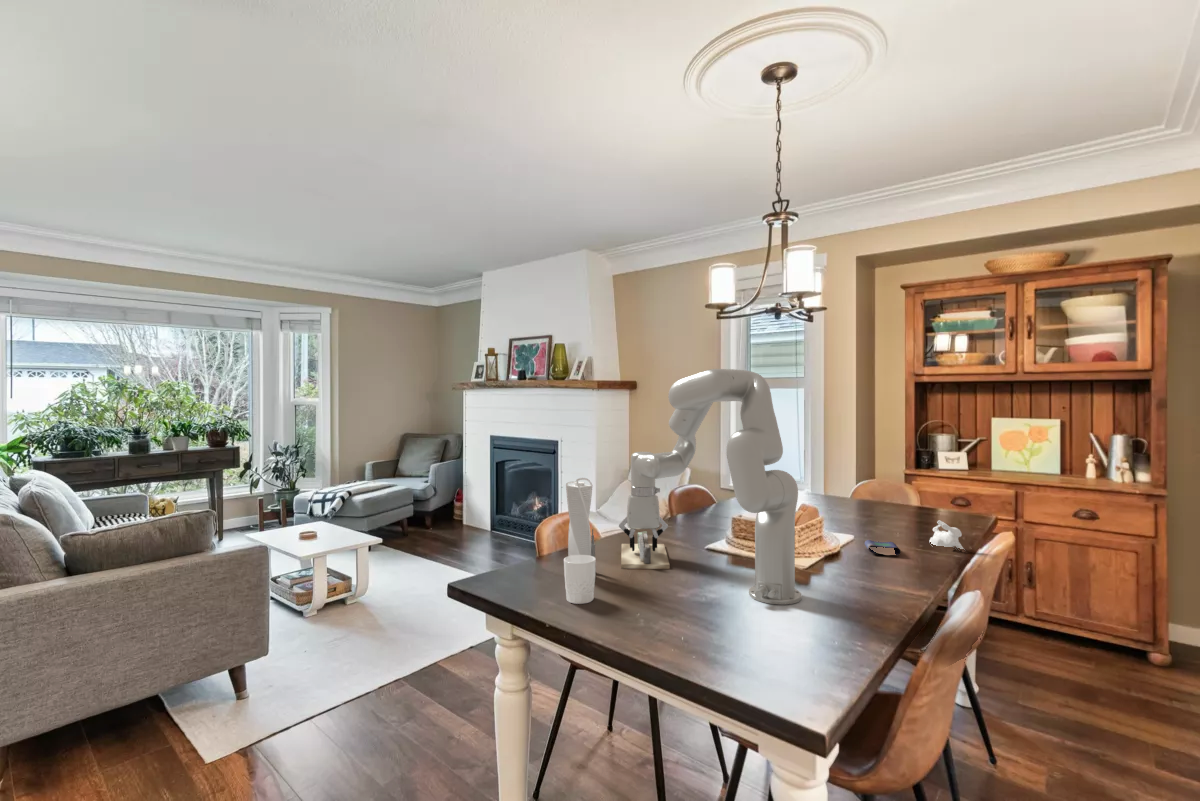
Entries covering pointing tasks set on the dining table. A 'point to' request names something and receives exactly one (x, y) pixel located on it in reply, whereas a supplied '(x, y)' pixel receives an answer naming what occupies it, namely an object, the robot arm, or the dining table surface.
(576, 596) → the white cup
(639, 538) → the bar
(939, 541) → the rabbit figurine
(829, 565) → the dining table surface
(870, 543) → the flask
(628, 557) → the tong rest
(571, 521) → the skyscraper
